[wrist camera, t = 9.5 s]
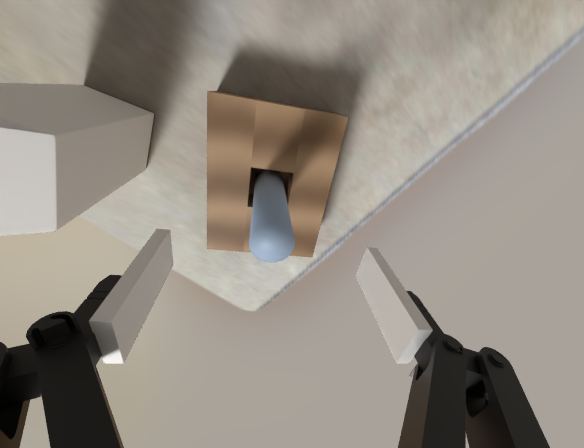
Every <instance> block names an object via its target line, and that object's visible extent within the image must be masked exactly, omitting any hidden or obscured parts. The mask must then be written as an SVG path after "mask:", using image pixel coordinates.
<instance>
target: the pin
mask: <svg viewBox="0 0 584 448" xmlns="http://www.w3.org/2000/svg"><path fill="white" fill-rule="evenodd" d="M294 247H295V239H294V234H293V229H292V224H291V219H290V214H289V209H288V204H287V199H286V194H285V189H284V184H283V179H282V175H281V173H280V171H275V170H267V169H260V170H259V171H258V172H257V174H256V177H255V187H254V197H253V207H252V217H251V227H250V238H249V248H250V251H251V252H252V254H253V255H254V256H255V257H256V258H258V259H259V260H261V261H264V262H278V261H281V260H284V259H285V258H287V257H288V256H289V255H290V254H291V253H292V252H293V250H294Z"/></svg>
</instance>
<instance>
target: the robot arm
mask: <svg viewBox="0 0 584 448" xmlns="http://www.w3.org/2000/svg"><path fill="white" fill-rule="evenodd" d="M172 266H173V256H172V245H171V234H170V230H165V229H156V231H155V232H154V233H153V235H152V236H151V237H150V239H149V240H148V241H147V243H146V244H145V246H144V247H143V248H142V250H141V251H140V252H139V254H138V255H137V256H136V258H135V259H134V260H133V262H132V263H131V265H130V266H129V267H128V269H127V270H126V271H125V273H124V274H123V275H122V276H120V275H109V276H108V277H106V278H105V279H103V280H102V281H100V282H99V283H98V285H97V286H96V287H95V288H94V290H93V292H91V293H90V294H89V296H88V297H87V299H85V300H84V302H83V303H82V304H81V305H80V307H79V308H78V309H77V310H76V311H75V312H74V314H73V313H71V312H67V311H65V312H56V313H52V314H49V315H47V316H45V317H43V318H41V319H39V320H38V321H36V322H35V323H34V324H32V325H31V327H30V328H29V329H28V331H27V334H26V338H27V340H28V341H29V343H30V344H26V345H21V346H16V347H12V348H7V347H6V346H5V345H4V344H3V343H2V342H0V448H19V447H20V442H21V438H22V434H23V429H24V425H25V420H26V416H27V412H28V407H29V403H30V399H34V398H37V397H40V396H42V400H43V405H44V411H45V417H46V423H47V429H48V435H49V441H50V447H51V448H124V447H123V444H122V441H121V438H120V435H119V432H118V429H117V426H116V423H115V420H114V417H113V415H112V412H111V409H110V406H109V403H108V400H107V397H106V394H105V391H104V389H103V385H102V382H101V379H100V377H99V374H98V371H97V368H96V364H97V362H98V361H99V359H100V357H101V356H102V358H103V361H104V363H124V362H125V360H126V358H127V356H128V354H129V352H130V350H131V348H132V346H133V344H134V342H135V340H136V338H137V336H138V334H139V332H140V330H141V328H142V326H143V324H144V322H145V320H146V318H147V316H148V314H149V312H150V310H151V308H152V306H153V304H154V302H155V300H156V298H157V296H158V294H159V292H160V290H161V288H162V286H163V284H164V282H165V280H166V278H167V276H168V274H169V272H170V270H171V268H172ZM356 278H357V280H358V282H359V285H360V287H361V289H362V291H363V293H364V295H365V297H366V300H367V301H368V304H369V306H370V308H371V310H372V312H373V314H374V316H375V319H376V321H377V323H378V325H379V327H380V329H381V331H382V334H383V336H384V338H385V340H386V342H387V344H388V346H389V348H390V351H391V353H392V355H393V357H394V359H395V361H396V363H410V362H411V360H412V359H413V358H414V357H415V358H416V360H417V362H418V364H417V365H416V366H415V368H414V369H413V370H412V372H411V373H410V376H412V375H413V374H414V375H413V381H412V385H411V389H410V394H409V400H408V403H407V408H406V413H405V418H404V422H403V427H402V431H401V436H400V441H399V445H398V448H465V437H466V435H465V434H467V439H468V443H469V448H550V447H549V445H548V443H547V440H546V438H545V436H544V434H543V432H542V430H541V428H540V426H539V423H538V421H537V419H536V417H535V415H534V412H533V410H532V408H531V406H530V404H529V402H528V400H527V398H526V395H525V393H524V391H523V389H522V387H521V385H520V383H519V380H518V378H517V376H516V374H515V372H514V369H513V367H512V365H511V364H510V362H509V361H508V360H507V359H506V358H505V357H504V356H503V355H502V354H500V353H499V352H497V351H496V350H494V349H492V348H488V347H484V348H482V349H481V350H480V352H475V351H472V350H469V349H466V348H463V346H462V345H461V344H460V343H459V342H458V341H457V340H456V339H454V338H453V337H451V336H449V335H446V334H444V333H443V332H442V330H441V329H440V328H439V326H438V325H437V323H436V322H435V321H434V319H433V318H432V316H431V315H430V314H429V312H428V311H427V309H426V308H425V307H424V306H423V304H422V302H421V301H420V299H419V298H418V297H417V296H416V295H414V294H413V293H412V292H411V291H406V290H405V289H404V287H403V286H402V284H401V283H400V281H399V280H398V278H397V277H396V275H395V274H394V272H393V271H392V269H391V268H390V266H389V265H388V263H387V262H386V261H385V259H384V258H383V256H382V255H381V253H380V252H379V250H378V249H377V248H370V247H367V249H366V252H365V254H364V257H363V260H362V262H361V264H360V267H359V269H358V272H357V274H356Z"/></svg>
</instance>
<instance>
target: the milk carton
mask: <svg viewBox="0 0 584 448" xmlns="http://www.w3.org/2000/svg"><path fill="white" fill-rule="evenodd" d="M153 120H154V114H153V113H152V112H149V111H147V110H144V109H142V108H139V107H137V106H134V105H132V104H129V103H127V102H124V101H122V100H119V99H117V98H114V97H112V96H109V95H107V94H104V93H102V92H99V91H97V90H94V89H92V88H89V87H87V86H84V85H68V84H22V83H0V236H5V235H17V234H30V233H41V232H54V231H56V230H58V229H59V228H60V227H62V226H63V225H65V224H66V223H68V222H69V221H71V220H72V219H74V218H75V217H77V216H78V215H80V214H81V213H83V212H84V211H86V210H87V209H89V208H90V207H92V206H93V205H94V204H96V203H97V202H99V201H100V200H102V199H103V198H105V197H106V196H108V195H109V194H111V193H112V192H114V191H115V190H117V189H118V188H120V187H121V186H123V185H124V184H125V183H127V182H128V181H130V180H131V179H133V178H134V177H136V176H137V175H139V174H140V173H142V172H143V171H145V169H146V164H147V158H148V152H149V145H150V139H151V133H152V126H153Z"/></svg>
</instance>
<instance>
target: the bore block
mask: <svg viewBox="0 0 584 448" xmlns="http://www.w3.org/2000/svg"><path fill="white" fill-rule="evenodd" d="M348 118H349V117H346V116H343V115H340V114H337V113H333V112H327V111H322V110H317V109H311V108H306V107H301V106H295V105H290V104H285V103H279V102H274V101H268V100H263V99H258V98H252V97H247V96H242V95H236V94H231V93H225V92H220V91H207V249H214V250H227V251H239V252H251V251H250V248H249V238H250V227H251V217H252V207H253V197H254V187H255V177H256V174H257V172H258V171H259V170H260V169H267V170H275V171H280V173H281V175H282V179H283V184H284V189H285V194H286V199H287V204H288V209H289V214H290V219H291V224H292V229H293V234H294V239H295V247H294V250H293V252H292V253H291V254H290V256H302V257H313V253H314V249H315V245H316V241H317V237H318V233H319V229H320V226H321V222H322V218H323V214H324V210H325V206H326V202H327V199H328V195H329V191H330V187H331V183H332V179H333V175H334V172H335V168H336V164H337V160H338V156H339V152H340V148H341V145H342V141H343V137H344V133H345V129H346V125H347V121H348Z"/></svg>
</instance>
